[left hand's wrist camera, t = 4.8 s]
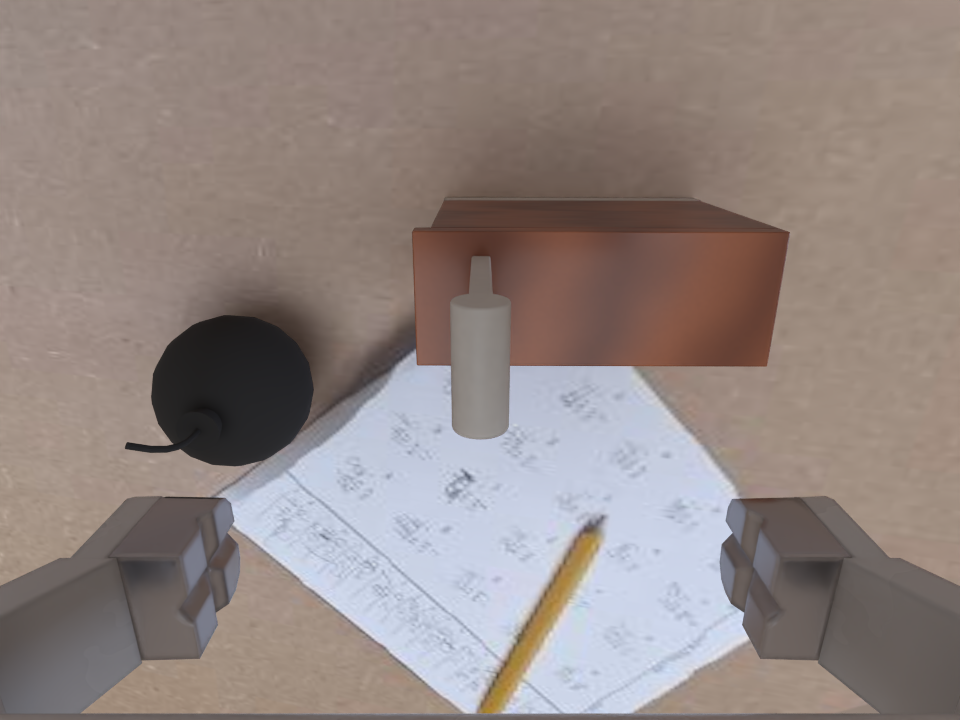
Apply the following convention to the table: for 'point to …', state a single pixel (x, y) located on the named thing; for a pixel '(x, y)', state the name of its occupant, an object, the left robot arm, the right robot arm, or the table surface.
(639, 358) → the lid
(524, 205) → the chest
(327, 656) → the table surface
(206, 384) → the bomb
